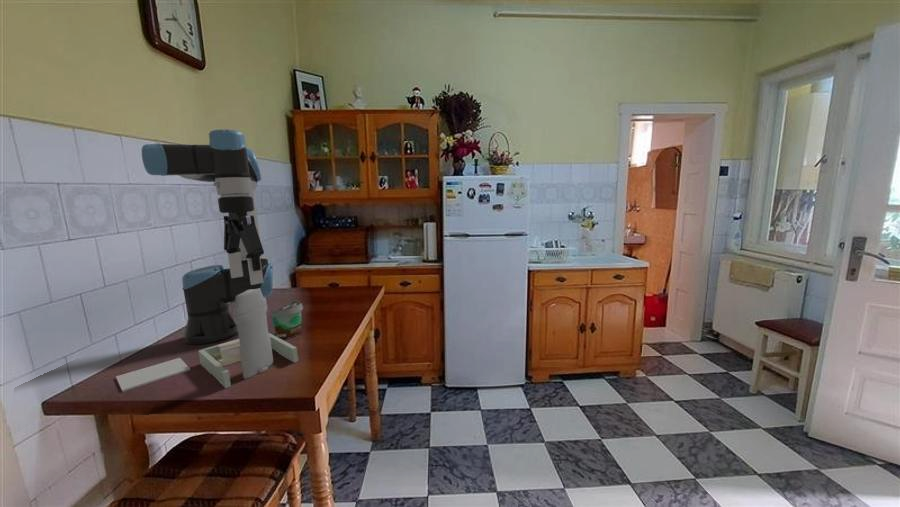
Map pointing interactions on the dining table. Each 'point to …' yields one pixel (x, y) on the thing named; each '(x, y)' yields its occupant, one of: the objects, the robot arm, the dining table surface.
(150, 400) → the dining table surface
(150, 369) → the mat
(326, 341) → the dining table surface
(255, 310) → the tall pale column
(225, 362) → the offcut lower
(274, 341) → the rack
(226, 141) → the robot arm
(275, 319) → the food container
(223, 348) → the offcut upper
